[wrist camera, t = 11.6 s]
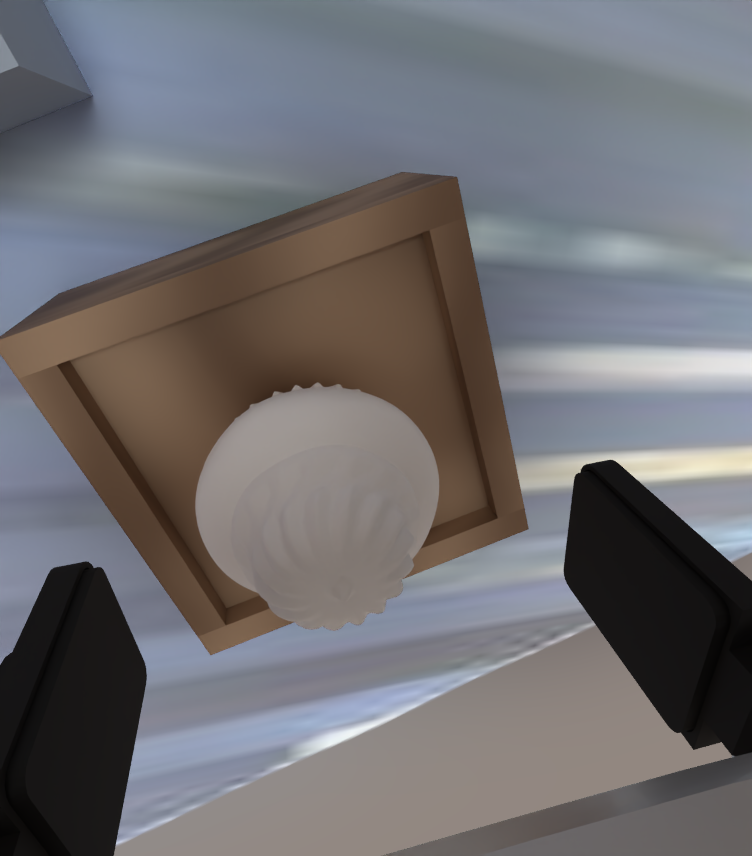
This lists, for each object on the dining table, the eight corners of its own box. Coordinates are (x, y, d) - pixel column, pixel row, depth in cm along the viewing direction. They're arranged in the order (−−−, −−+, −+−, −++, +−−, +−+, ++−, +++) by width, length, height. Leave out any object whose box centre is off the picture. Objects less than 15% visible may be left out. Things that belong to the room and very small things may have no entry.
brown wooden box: (398, 171, 19) (456, 176, 14) (469, 452, 24) (528, 528, 19) (63, 290, 18) (-8, 342, 13) (217, 549, 24) (210, 655, 19)
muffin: (159, 408, 15) (104, 578, 9) (348, 302, 15) (420, 404, 9) (273, 549, 18) (290, 746, 12) (432, 463, 18) (528, 619, 12)
